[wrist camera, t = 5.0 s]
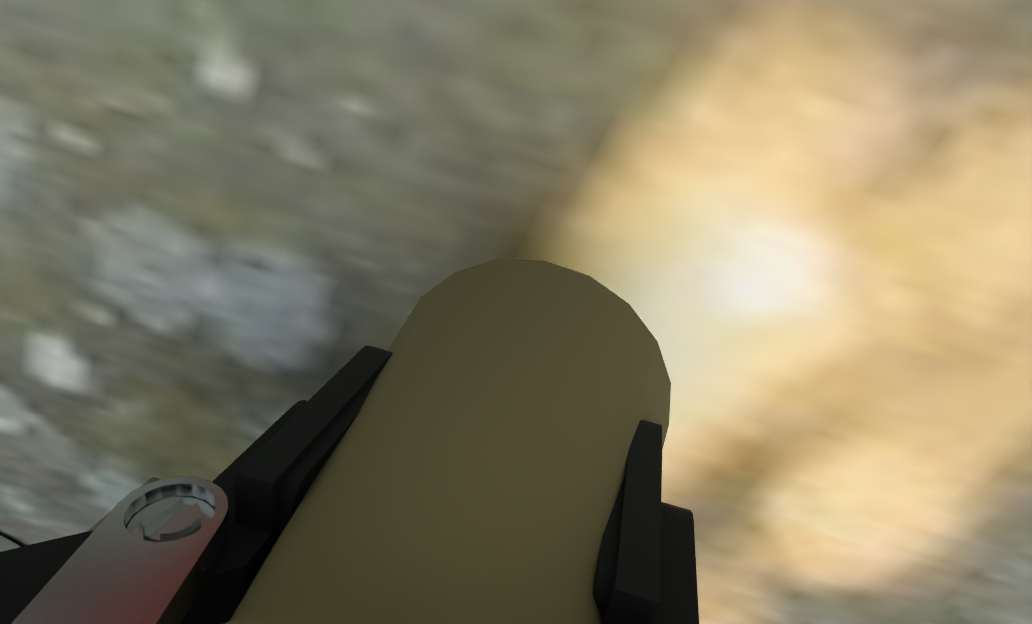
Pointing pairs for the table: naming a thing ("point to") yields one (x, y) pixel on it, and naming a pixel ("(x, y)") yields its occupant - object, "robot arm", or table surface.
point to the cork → (475, 462)
